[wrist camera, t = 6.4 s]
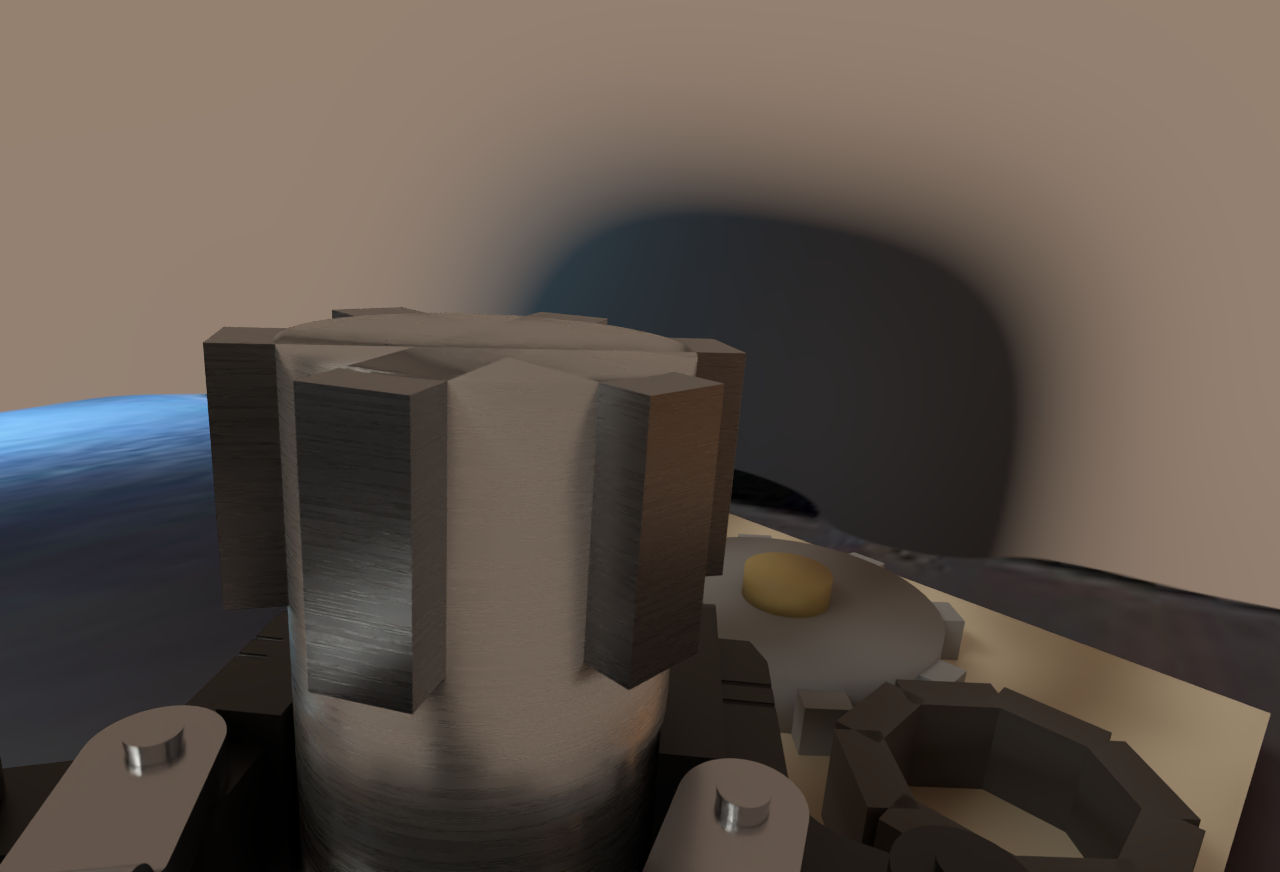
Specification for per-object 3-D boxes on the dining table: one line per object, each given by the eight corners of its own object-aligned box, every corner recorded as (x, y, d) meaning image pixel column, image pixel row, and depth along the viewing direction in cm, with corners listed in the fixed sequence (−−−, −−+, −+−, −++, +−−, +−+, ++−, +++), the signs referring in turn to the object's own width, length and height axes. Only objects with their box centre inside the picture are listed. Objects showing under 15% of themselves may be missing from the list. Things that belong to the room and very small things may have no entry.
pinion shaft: (226, 1186, 11) (141, 317, 8) (505, 969, 14) (525, 302, 11) (425, 1623, 8) (419, 434, 4) (724, 1206, 11) (843, 363, 8)
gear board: (305, 593, 27) (300, 477, 26) (599, 506, 37) (604, 420, 36) (1112, 1237, 11) (1188, 1005, 10) (1249, 778, 21) (1294, 637, 20)
